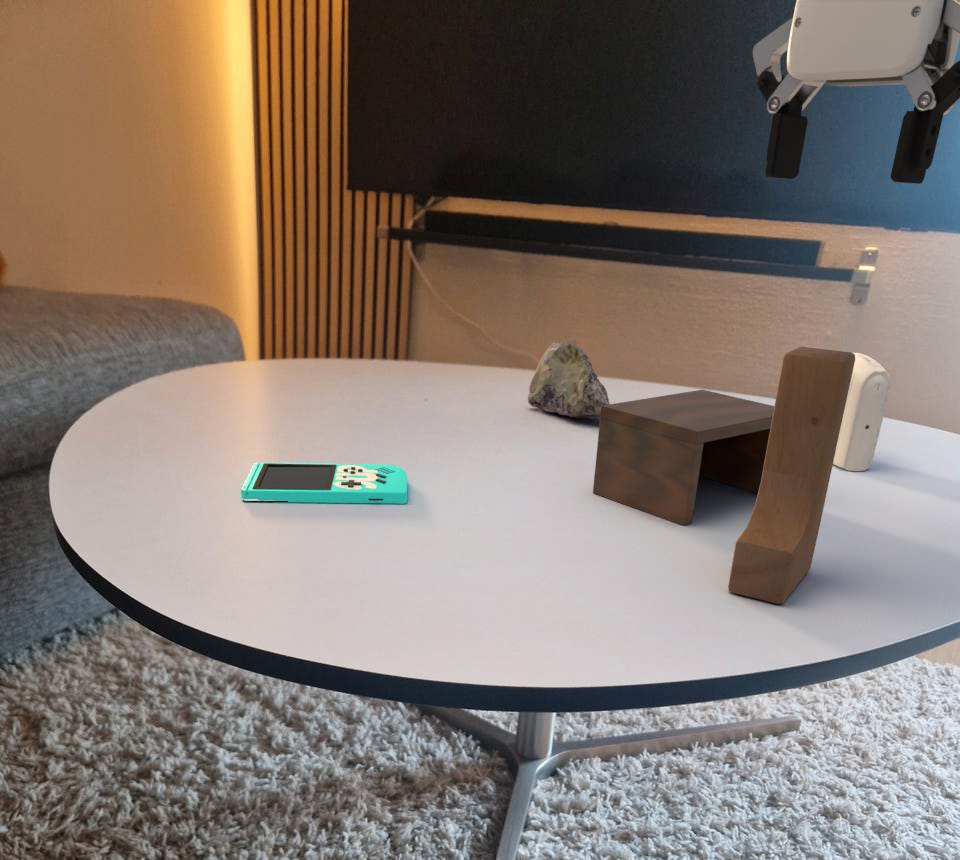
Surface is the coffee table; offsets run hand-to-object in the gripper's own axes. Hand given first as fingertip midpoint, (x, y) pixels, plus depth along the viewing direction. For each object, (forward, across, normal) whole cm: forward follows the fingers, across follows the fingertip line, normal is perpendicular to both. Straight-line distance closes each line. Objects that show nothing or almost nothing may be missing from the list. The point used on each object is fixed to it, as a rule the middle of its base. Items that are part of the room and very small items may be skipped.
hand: (840, 180), depth 64 cm
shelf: (+30, +18, -12) cm, 37 cm away
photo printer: (+30, +17, -39) cm, 52 cm away
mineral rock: (+30, +50, -26) cm, 64 cm away
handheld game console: (+30, +40, +18) cm, 53 cm away
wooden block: (+30, -1, +1) cm, 30 cm away
